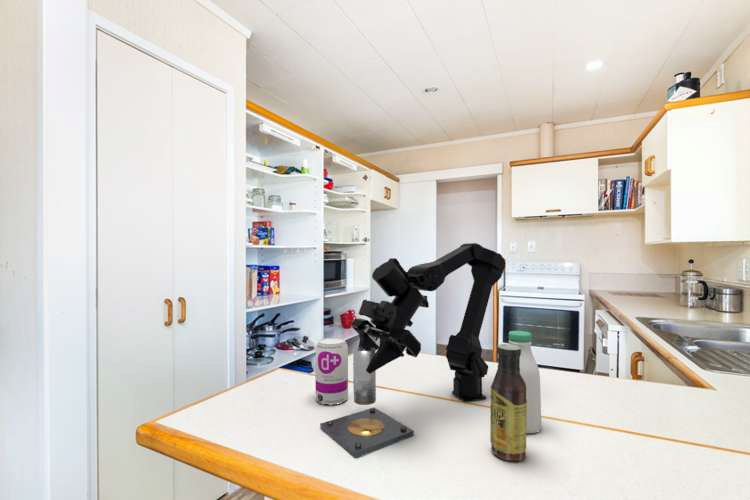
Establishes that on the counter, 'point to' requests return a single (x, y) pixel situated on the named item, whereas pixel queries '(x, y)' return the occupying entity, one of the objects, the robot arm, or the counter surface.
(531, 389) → the milk bottle
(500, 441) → the sauce bottle
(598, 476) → the counter surface
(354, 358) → the sleeve
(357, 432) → the flange plate
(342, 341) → the supplement can
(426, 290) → the robot arm
